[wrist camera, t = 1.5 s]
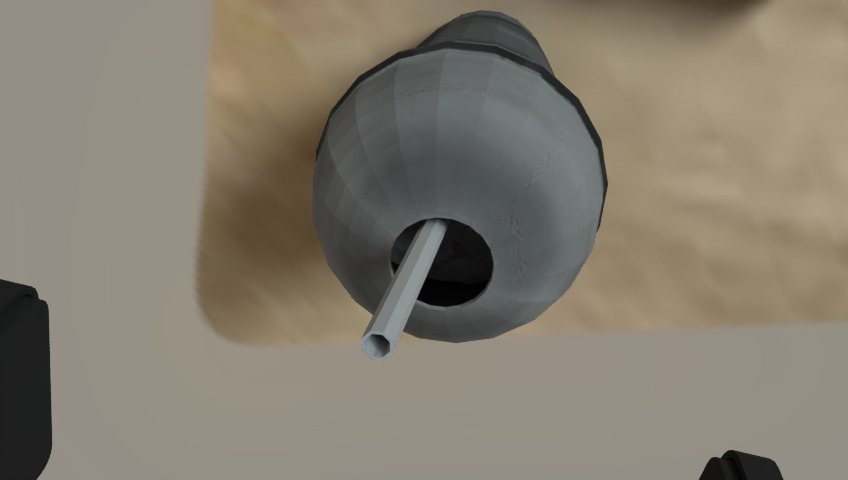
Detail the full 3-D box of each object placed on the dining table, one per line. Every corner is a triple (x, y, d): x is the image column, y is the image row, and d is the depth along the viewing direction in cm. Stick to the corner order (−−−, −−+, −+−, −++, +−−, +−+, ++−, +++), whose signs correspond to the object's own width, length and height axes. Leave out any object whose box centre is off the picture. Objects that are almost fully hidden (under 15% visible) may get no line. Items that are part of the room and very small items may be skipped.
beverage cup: (432, 185, 32) (305, 610, 14) (357, 16, 29) (84, 278, 11) (606, 125, 30) (715, 533, 12) (543, -63, 27) (565, 107, 9)
